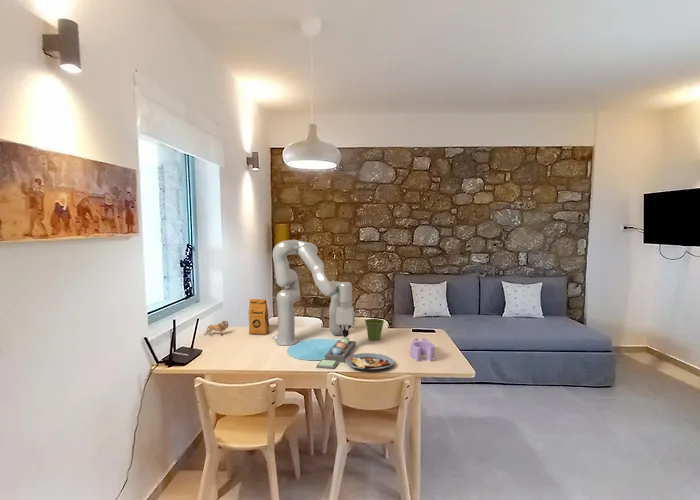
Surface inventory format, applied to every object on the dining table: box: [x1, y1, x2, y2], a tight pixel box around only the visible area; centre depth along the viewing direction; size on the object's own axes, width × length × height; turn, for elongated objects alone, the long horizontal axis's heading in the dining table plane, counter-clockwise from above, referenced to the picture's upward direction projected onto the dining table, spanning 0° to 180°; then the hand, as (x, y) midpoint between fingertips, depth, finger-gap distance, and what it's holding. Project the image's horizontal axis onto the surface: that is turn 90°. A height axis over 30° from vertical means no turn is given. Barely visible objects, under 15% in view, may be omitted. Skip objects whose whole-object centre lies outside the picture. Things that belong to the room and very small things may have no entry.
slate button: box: [331, 346, 342, 355], centre depth 227 cm, size 5×5×4 cm
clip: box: [410, 337, 436, 362], centre depth 232 cm, size 20×12×7 cm, turn 177°
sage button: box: [340, 337, 350, 345], centre depth 244 cm, size 5×5×4 cm
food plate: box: [344, 352, 395, 371], centre depth 218 cm, size 25×23×4 cm
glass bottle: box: [328, 294, 346, 336], centre depth 271 cm, size 10×10×28 cm
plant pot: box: [364, 318, 385, 341], centre depth 262 cm, size 12×12×11 cm
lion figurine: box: [203, 320, 229, 337], centre depth 270 cm, size 15×5×9 cm, turn 103°
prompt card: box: [315, 359, 340, 370], centre depth 217 cm, size 9×9×1 cm
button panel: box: [324, 339, 357, 363], centre depth 235 cm, size 10×28×3 cm, turn 167°
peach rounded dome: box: [337, 342, 346, 350], centre depth 235 cm, size 5×5×4 cm
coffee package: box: [248, 298, 270, 336], centre depth 274 cm, size 10×12×22 cm
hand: (345, 336), depth 244 cm, fingers closed
